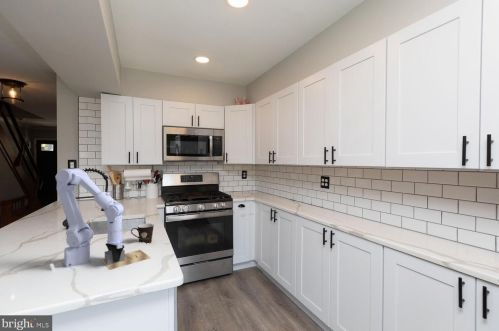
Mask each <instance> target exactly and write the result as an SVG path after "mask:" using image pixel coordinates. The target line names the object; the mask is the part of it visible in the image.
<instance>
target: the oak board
mask: <svg viewBox="0 0 499 331" xmlns="http://www.w3.org/2000/svg"><path fill="white" fill-rule="evenodd" d="M149 259H152V257H151V256H149V255H148V254H147V253H145V252H144V251H142V250H141V249H139V250H135V251H130V252H125V261H124V262H120V263H116V264H113V265H109V266H107V265H106V264H105V258H103V259H102V258H101V259H100V261H101V263H102V264H103V265H104V266H105V267H106V269H107V270H109V271H110V270H114V269H119V268H122V267H124V266H129V265H131V264H132V265H133V264H135V263H136V264H137V263H139V262H143V261H145V260H149Z"/></svg>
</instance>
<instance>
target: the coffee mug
mask: <svg viewBox="0 0 499 331" xmlns="http://www.w3.org/2000/svg"><path fill="white" fill-rule="evenodd" d="M154 227H155V226H154V224H153V223H141V224H139V225H137V227H133V228H131V229H130V233H131V235H133V236H134V237H135V238H137V239H138V240H139V241H138V242H139V243H145V245H148V244H147V243H149V244H151V243H152V241H153V232H154ZM133 230H136V231H137V233H138V236H137V235H136V234H134V233H133Z"/></svg>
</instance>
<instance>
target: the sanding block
mask: <svg viewBox="0 0 499 331" xmlns="http://www.w3.org/2000/svg"><path fill="white" fill-rule="evenodd" d="M125 254H126V252H125V249H123V250H122V253H121V256H120V260H119V261H118V262H114V261H113V256H112V252H111V250H110V251H108V250H107V251H104V259H105V264H106V265H107V266H109V265H113V264H116V263H120V262H124V261H125Z"/></svg>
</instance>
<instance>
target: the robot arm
mask: <svg viewBox="0 0 499 331" xmlns="http://www.w3.org/2000/svg"><path fill="white" fill-rule="evenodd" d="M54 178H55V181H56V191H57V192H56V193H57V194H58V197H59V201H60V204H61V206H62V209H63V212H64V215H65V219H66V221H67V225H68V228H67V230H66V232H65V235H66V239H65V240H66V244H67V246H68V247H65V248H64V252H63V253H64V255H63V257H64V261H63V265H64V266H65V267H66V268H71V267H73V266H80V265H84V264H87V263H89V262H90V261H91V240H92V239H93V237H94V234H95V233H94V231H93V229H92V228H91V227H90V225H89V224H88V223H86V222H85V221H84V219H83V215H82V213H81V210H80V206H79V204H78V200H77V198H76V195H75V192H74V189H75V187H76V186H79V185H80V186H82V187H83V188H84V189H85V191H87V192H88V193H90V194H91V195H92V196H93V197H94V200H93V201H94V202H95V203H96V204H97V205H99V207H101V209H102V210H103V211H104V214H105V217H106V218H107V240H106V243H105V246H106V248H107V251H110V250H111V252H112V256H113V261H114V262H118V261H119V260H120V256H121V253H122V250H125V249H124V248H125V244H124V245H123V241H125V240H126V238H125V237H123V214H124V213H125V206H124V204H123V203H121V202H118V201H117V200H116V199H114V198H113V197H112V196H111V195H110V194H111V193H110V192H107V191H102V190H101V189H100V188H99V187H98V186H97V185H96V184H95V183H94V181H93V180H92V179H91V177H89V174H88V173H87V172H86V171H85V170H84V169H82V168H80V167H75V168H62V169H61V168H60V170H59V171H58V172H57V173H56V175H55V177H54Z"/></svg>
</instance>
